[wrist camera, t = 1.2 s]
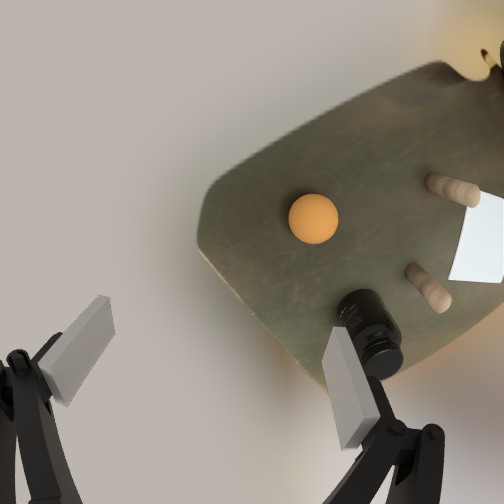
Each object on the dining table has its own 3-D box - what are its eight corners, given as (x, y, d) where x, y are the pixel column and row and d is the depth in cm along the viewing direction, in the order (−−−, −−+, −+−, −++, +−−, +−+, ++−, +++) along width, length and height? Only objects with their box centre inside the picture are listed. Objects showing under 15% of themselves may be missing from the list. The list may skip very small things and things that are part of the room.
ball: (335, 193, 32) (347, 202, 27) (329, 237, 34) (338, 253, 29) (289, 187, 32) (293, 195, 27) (285, 232, 34) (287, 248, 29)
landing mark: (520, 205, 29) (521, 205, 29) (500, 282, 34) (500, 283, 34) (469, 187, 30) (470, 187, 29) (447, 278, 35) (448, 279, 34)
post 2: (441, 175, 30) (482, 187, 21) (438, 193, 30) (478, 209, 22) (426, 171, 30) (466, 182, 21) (423, 190, 31) (462, 205, 22)
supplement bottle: (389, 295, 36) (423, 347, 25) (368, 332, 39) (391, 390, 27) (349, 282, 36) (375, 337, 25) (328, 322, 38) (343, 383, 27)
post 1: (422, 263, 34) (454, 294, 26) (417, 279, 35) (447, 313, 27) (408, 262, 34) (438, 294, 26) (403, 278, 35) (431, 313, 27)
